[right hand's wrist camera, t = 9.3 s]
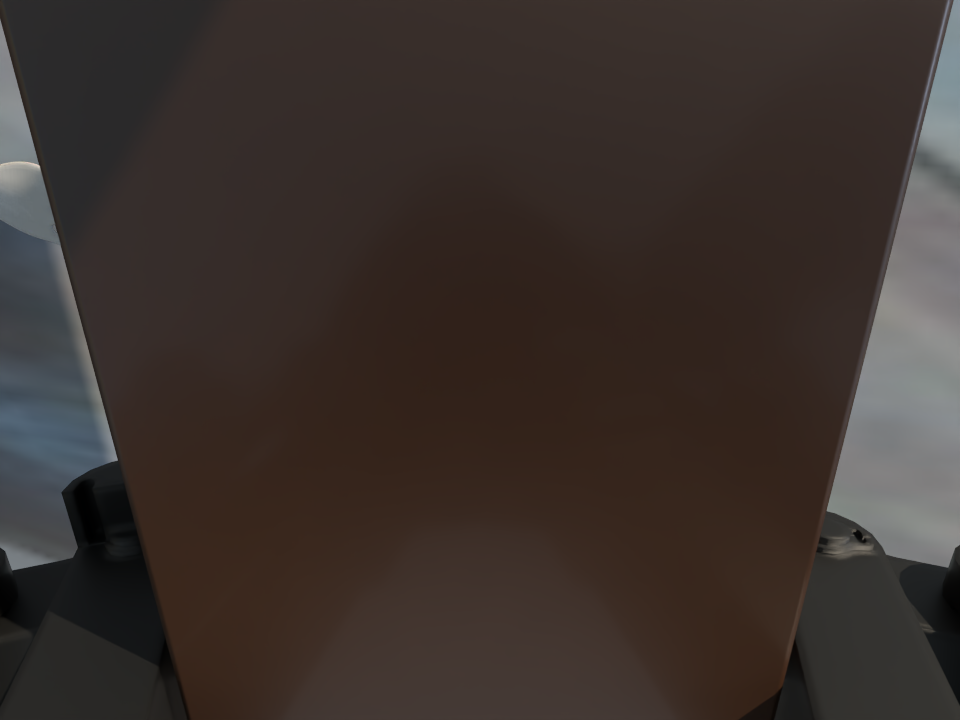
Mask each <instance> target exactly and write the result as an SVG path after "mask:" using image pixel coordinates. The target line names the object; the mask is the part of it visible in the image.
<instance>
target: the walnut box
mask: <svg viewBox="0 0 960 720" xmlns="http://www.w3.org/2000/svg"><path fill="white" fill-rule="evenodd" d="M952 4H953V0H0V19H1V23H2V27H3V31H4V34H5V38H6V42H7V46H8V49H9V53H10V57H11V61H12V64H13V68H14V72H15V76H16V79H17V83H18V87H19V91H20V94H21V98H22V102H23V106H24V109H25V113H26V117H27V121H28V124H29V128H30V132H31V136H32V139H33V143H34V147H35V151H36V154H37V158H38V162H39V166H40V169H41V173H42V177H43V181H44V184H45V188H46V192H47V196H48V199H49V203H50V207H51V211H52V214H53V218H54V222H55V226H56V229H57V233H58V237H59V241H60V244H61V248H62V252H63V256H64V259H65V263H66V267H67V271H68V274H69V278H70V282H71V286H72V289H73V293H74V297H75V301H76V304H77V308H78V312H79V316H80V319H81V323H82V327H83V331H84V334H85V338H86V342H87V346H88V349H89V353H90V357H91V361H92V364H93V368H94V372H95V376H96V379H97V383H98V387H99V391H100V394H101V398H102V402H103V406H104V409H105V413H106V417H107V421H108V424H109V428H110V432H111V436H112V439H113V443H114V447H115V451H116V454H117V458H118V462H119V466H120V469H121V473H122V477H123V481H124V484H125V488H126V492H127V496H128V499H129V503H130V507H131V511H132V514H133V518H134V522H135V526H136V529H137V533H138V537H139V541H140V544H141V548H142V552H143V556H144V559H145V563H146V567H147V571H148V574H149V578H150V582H151V586H152V589H153V593H154V597H155V601H156V604H157V608H158V612H159V616H160V619H161V623H162V627H163V631H164V634H165V638H166V642H167V646H168V649H169V653H170V657H171V661H172V664H173V668H174V672H175V676H176V679H177V683H178V687H179V691H180V694H181V698H182V702H183V706H184V709H185V713H186V717H187V720H774V719H775V715H776V711H777V707H778V703H779V699H780V695H781V691H782V687H783V683H784V679H785V675H786V671H787V667H788V663H789V659H790V655H791V651H792V647H793V643H794V639H795V635H796V631H797V627H798V623H799V619H800V615H801V611H802V607H803V602H804V598H805V594H806V590H807V586H808V582H809V578H810V574H811V570H812V566H813V562H814V558H815V554H816V550H817V546H818V542H819V538H820V534H821V530H822V526H823V522H824V518H825V514H826V510H827V506H828V502H829V498H830V494H831V490H832V486H833V482H834V478H835V474H836V470H837V466H838V462H839V458H840V454H841V450H842V446H843V442H844V438H845V434H846V430H847V426H848V422H849V418H850V414H851V410H852V406H853V402H854V398H855V394H856V390H857V386H858V382H859V378H860V374H861V370H862V366H863V362H864V358H865V354H866V350H867V346H868V342H869V337H870V333H871V329H872V325H873V321H874V317H875V313H876V309H877V305H878V301H879V297H880V293H881V289H882V285H883V281H884V277H885V273H886V269H887V265H888V261H889V257H890V253H891V249H892V245H893V241H894V237H895V233H896V229H897V225H898V221H899V217H900V213H901V209H902V205H903V201H904V197H905V193H906V189H907V185H908V181H909V177H910V173H911V169H912V165H913V161H914V157H915V153H916V149H917V145H918V141H919V137H920V133H921V129H922V125H923V121H924V117H925V113H926V109H927V105H928V101H929V97H930V93H931V89H932V85H933V81H934V77H935V72H936V68H937V64H938V60H939V56H940V52H941V48H942V44H943V40H944V36H945V32H946V28H947V24H948V20H949V16H950V12H951V8H952Z"/></svg>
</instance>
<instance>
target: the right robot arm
mask: <svg viewBox="0 0 960 720" xmlns="http://www.w3.org/2000/svg"><path fill="white" fill-rule="evenodd" d="M62 496H63V499H64V502H65V506H66V509H67V512H68V516H69V519H70V522H71V526H72V529H73V532H74V535H75V539H76V542H77V545H78V549H77V551H76V553H75V555H74V557H73V558H70V559H66V560H63V561H58V562H53V563H48V564H43V565H38V566H33V567H28V568H23V569H18V570H13V571H12V569H11V566H10V564H9V561H8V558H7V555H6V553H5V551H4V550H3V549H1V548H0V720H187V717H186V713H185V709H184V706H183V702H182V698H181V694H180V691H179V687H178V683H177V679H176V676H175V672H174V668H173V664H172V661H171V657H170V653H169V649H168V646H167V642H166V638H165V634H164V631H163V627H162V623H161V619H160V616H159V612H158V608H157V604H156V601H155V597H154V593H153V589H152V586H151V582H150V578H149V574H148V571H147V567H146V563H145V559H144V556H143V552H142V548H141V544H140V541H139V537H138V533H137V529H136V526H135V522H134V518H133V514H132V511H131V507H130V503H129V499H128V496H127V492H126V488H125V484H124V481H123V477H122V473H121V469H120V466H119V462H118V461H115V462H111V463H108V464H105V465H103V466H100V467H97V468H95V469H92V470H90V471H88V472H87V473H85V474H83V475H81V476H80V477H78V478H76V479H75V480H73V481H72V482H71V483H70V484H69V485H68V486H67V487H66V488H65V489H64V490H63V491H62ZM774 720H960V545H959V546H958V547H956V548H955V551H954V553H953V556H952V559H951V562H950V565H949V567H948V568H946V567H941V566H936V565H931V564H926V563H921V562H916V561H911V560H906V559H901V558H896V557H892V556H889V555H886V554H885V552H884V550H883V548H882V546H881V545H880V544H879V542H878V541H877V540H876V539H875V537H874V536H873V535H872V534H871V533H870V532H868V531H867V530H865V529H864V528H862V527H861V526H860V525H858V524H857V523H855V522H853V521H851V520H849V519H846V518H844V517H842V516H839V515H837V514H835V513H831V512H827V511H826V514H825V518H824V522H823V526H822V530H821V534H820V538H819V542H818V546H817V550H816V554H815V558H814V562H813V566H812V570H811V574H810V578H809V582H808V586H807V590H806V594H805V598H804V602H803V607H802V611H801V615H800V619H799V623H798V627H797V631H796V635H795V639H794V643H793V647H792V651H791V655H790V659H789V663H788V667H787V671H786V675H785V679H784V683H783V687H782V691H781V695H780V699H779V703H778V707H777V711H776V715H775V719H774Z"/></svg>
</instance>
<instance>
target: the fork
mask: <svg viewBox="0 0 960 720" xmlns="http://www.w3.org/2000/svg"><path fill="white" fill-rule="evenodd" d="M0 220H2V221H3V222H5V223H7V224H8V225H10V226H12V227H14V228H16V229H18V230H20V231H22V232H24V233H26V234H28V235H31V236H33V237H36V238H39V239H43V240H46V241H50V242H53V243H56V244H58V245H61V244H60V241H59V237H58V233H56V232H55V231H54V229H53V225H55V222H54V218H53V214H52V211H51V207H50V203H49V199H48V196H47V192H46V188H45V184H44V181H43V177H42V173H41V169H40V166H39V165H36V164H33V163H29V162H10V163H4V164H0Z"/></svg>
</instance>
